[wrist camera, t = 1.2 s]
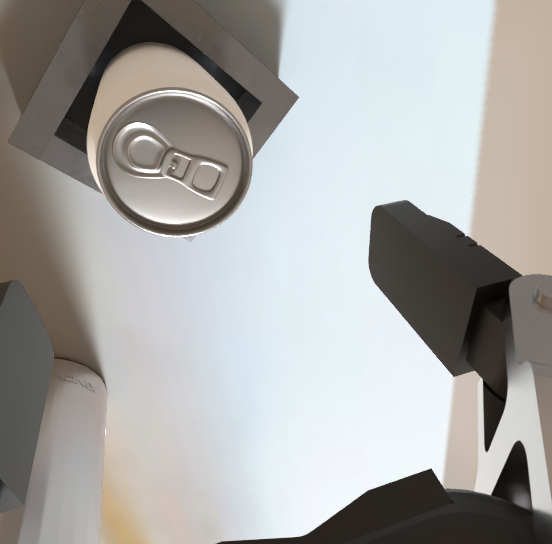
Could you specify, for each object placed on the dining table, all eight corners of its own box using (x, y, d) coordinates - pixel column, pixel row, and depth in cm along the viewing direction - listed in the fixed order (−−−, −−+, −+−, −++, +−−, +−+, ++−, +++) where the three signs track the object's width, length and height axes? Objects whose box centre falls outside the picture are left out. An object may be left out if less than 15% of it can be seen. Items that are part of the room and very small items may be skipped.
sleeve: (183, 214, 29) (191, 241, 26) (23, 122, 23) (7, 142, 20) (277, 84, 26) (299, 97, 23) (121, -58, 20) (120, -67, 17)
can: (121, 15, 22) (118, 32, 12) (229, 76, 25) (293, 126, 16) (84, 129, 24) (58, 215, 15) (187, 171, 28) (220, 265, 18)
